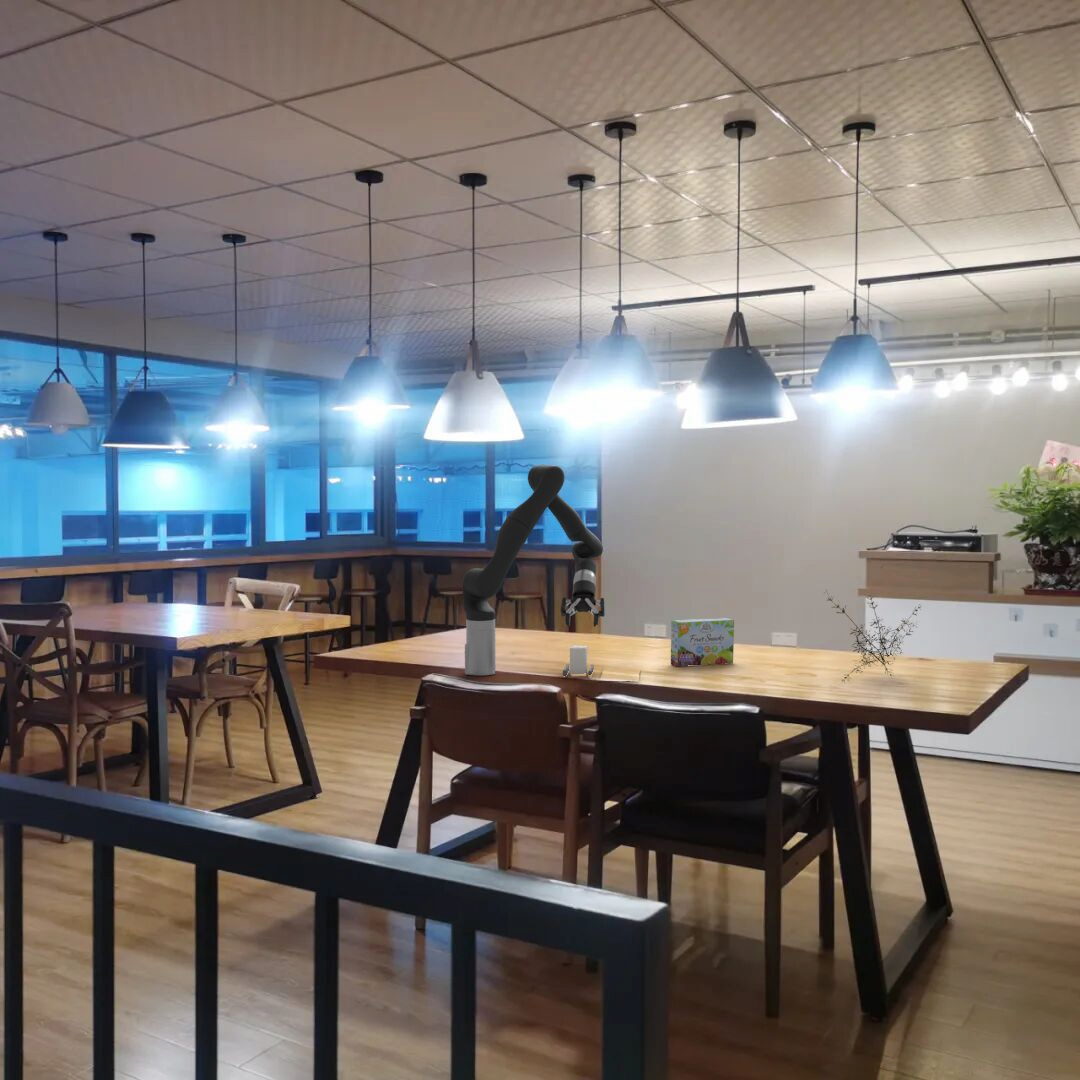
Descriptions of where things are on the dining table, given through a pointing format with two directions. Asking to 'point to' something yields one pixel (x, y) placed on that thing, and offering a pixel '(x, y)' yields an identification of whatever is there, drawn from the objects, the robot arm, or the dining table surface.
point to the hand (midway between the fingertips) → (581, 624)
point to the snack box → (702, 641)
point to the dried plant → (876, 640)
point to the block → (578, 659)
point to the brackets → (568, 670)
